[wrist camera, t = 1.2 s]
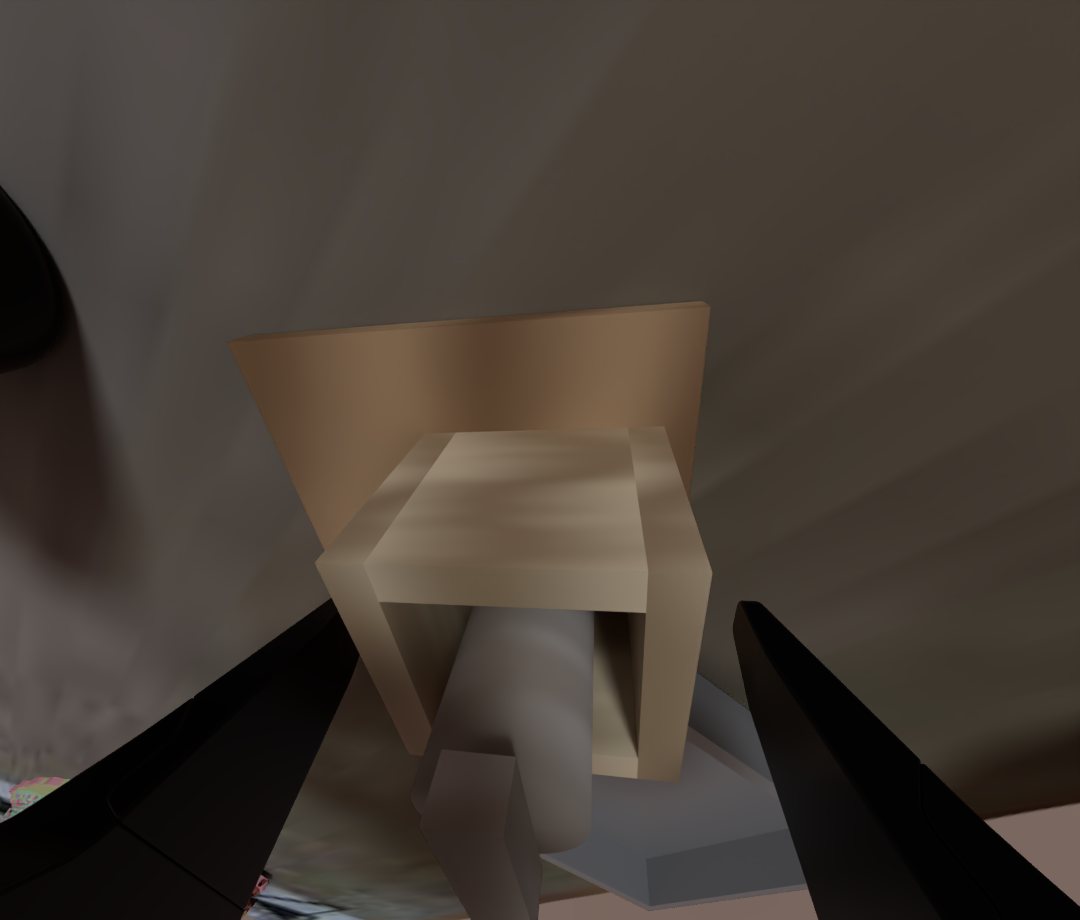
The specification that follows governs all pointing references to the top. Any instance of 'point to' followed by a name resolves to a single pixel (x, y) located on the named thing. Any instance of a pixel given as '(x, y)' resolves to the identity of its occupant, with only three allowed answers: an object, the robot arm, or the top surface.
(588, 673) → the stake block
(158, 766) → the robot arm
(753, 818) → the slate tray
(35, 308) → the supplement bottle
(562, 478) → the hollow wooden box
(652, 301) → the top surface
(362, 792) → the top surface
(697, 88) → the top surface
